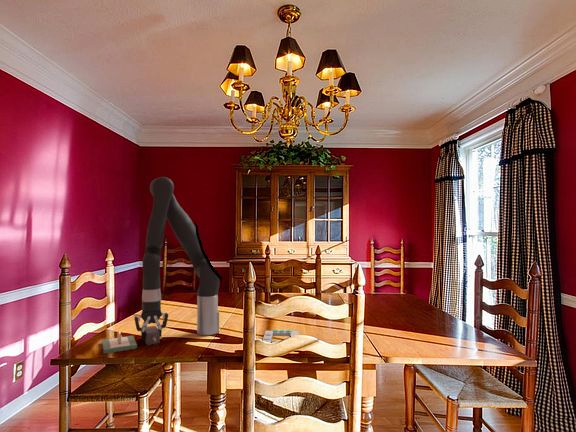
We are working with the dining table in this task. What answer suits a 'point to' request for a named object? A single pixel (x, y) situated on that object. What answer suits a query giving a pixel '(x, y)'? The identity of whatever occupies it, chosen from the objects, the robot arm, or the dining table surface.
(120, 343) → the header pins
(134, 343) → the header board
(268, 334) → the electronic device
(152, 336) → the plug housing
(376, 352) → the dining table surface
